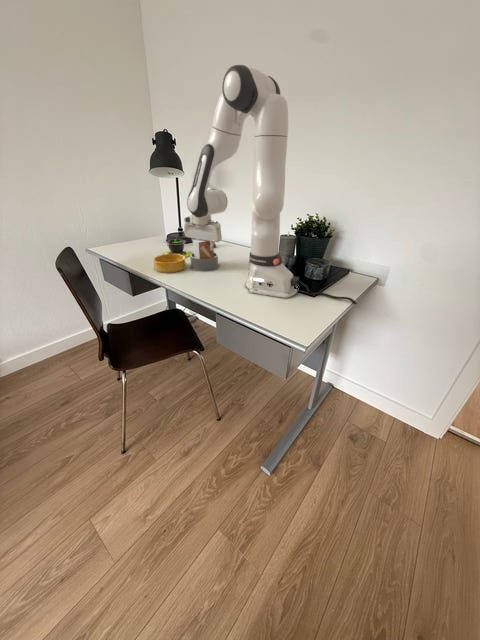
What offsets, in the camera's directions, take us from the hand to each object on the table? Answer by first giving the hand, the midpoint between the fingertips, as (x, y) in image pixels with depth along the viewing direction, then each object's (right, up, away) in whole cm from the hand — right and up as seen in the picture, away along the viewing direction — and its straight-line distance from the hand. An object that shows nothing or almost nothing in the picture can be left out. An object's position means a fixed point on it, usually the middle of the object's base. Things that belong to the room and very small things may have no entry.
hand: (203, 248), depth 130 cm
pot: (0, -8, +5) cm, 9 cm away
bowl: (-17, -9, +2) cm, 19 cm away
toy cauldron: (-18, +2, +22) cm, 29 cm away
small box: (0, -8, +5) cm, 9 cm away
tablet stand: (-3, +11, +37) cm, 39 cm away
